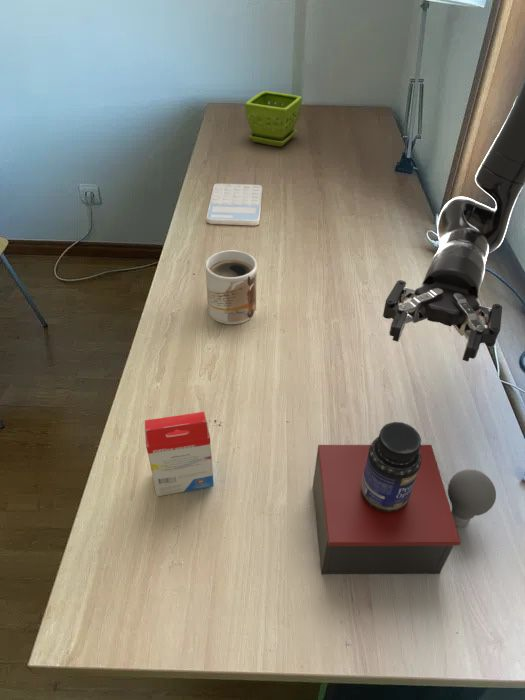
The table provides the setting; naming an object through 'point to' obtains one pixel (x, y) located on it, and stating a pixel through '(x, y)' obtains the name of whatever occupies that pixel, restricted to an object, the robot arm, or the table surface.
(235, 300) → the mug
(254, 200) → the calculator
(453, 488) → the light bulb
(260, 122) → the flower pot
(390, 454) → the pill bottle
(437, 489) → the lid
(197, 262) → the table surface
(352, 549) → the gray open box
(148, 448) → the ink box
